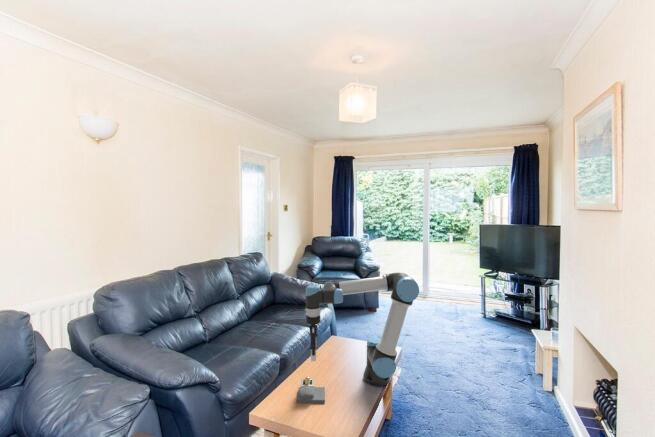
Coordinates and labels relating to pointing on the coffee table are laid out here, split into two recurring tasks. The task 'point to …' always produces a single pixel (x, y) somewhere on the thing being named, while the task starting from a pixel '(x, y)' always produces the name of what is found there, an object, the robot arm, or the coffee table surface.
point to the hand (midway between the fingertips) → (313, 354)
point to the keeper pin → (307, 381)
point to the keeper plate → (318, 397)
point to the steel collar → (307, 389)
